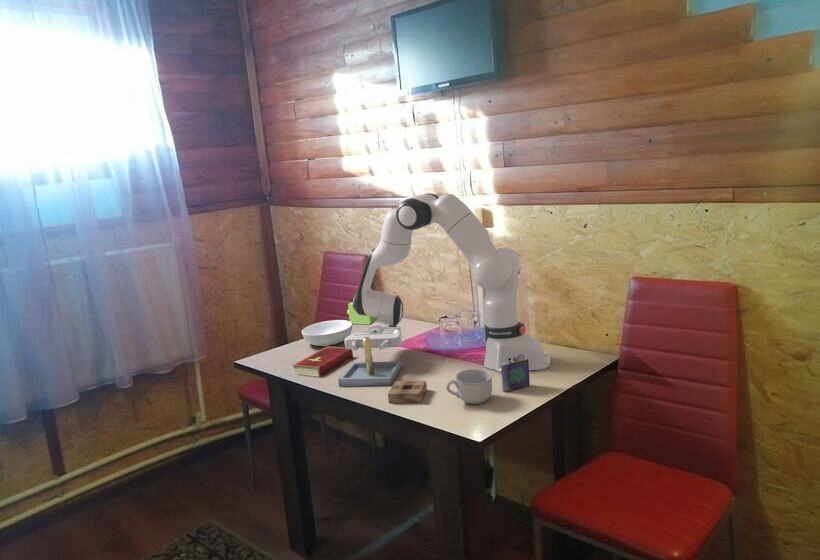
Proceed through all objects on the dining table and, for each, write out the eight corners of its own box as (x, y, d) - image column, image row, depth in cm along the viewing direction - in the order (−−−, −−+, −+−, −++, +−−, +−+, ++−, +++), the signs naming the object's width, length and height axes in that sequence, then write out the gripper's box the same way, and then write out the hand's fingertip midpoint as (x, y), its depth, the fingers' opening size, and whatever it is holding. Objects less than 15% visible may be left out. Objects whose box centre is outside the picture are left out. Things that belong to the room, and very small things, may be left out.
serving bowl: (333, 332, 272) (331, 317, 270) (364, 339, 257) (362, 323, 256) (294, 346, 258) (291, 330, 256) (324, 354, 243) (321, 337, 242)
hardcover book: (353, 358, 236) (352, 347, 235) (319, 378, 218) (318, 367, 217) (328, 355, 242) (326, 345, 241) (293, 375, 224) (292, 364, 223)
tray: (401, 367, 218) (401, 361, 217) (390, 385, 203) (389, 378, 202) (353, 369, 222) (352, 362, 222) (339, 386, 207) (338, 379, 206)
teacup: (490, 391, 189) (488, 366, 188) (496, 405, 179) (494, 379, 177) (445, 396, 189) (442, 372, 187) (449, 411, 178) (446, 385, 177)
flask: (505, 393, 187) (502, 359, 184) (500, 390, 189) (497, 357, 187) (531, 386, 189) (529, 353, 187) (526, 383, 192) (524, 350, 190)
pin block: (427, 389, 196) (426, 380, 195) (420, 402, 186) (419, 393, 186) (396, 390, 198) (395, 381, 198) (388, 402, 189) (387, 393, 188)
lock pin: (375, 372, 213) (370, 337, 210) (373, 375, 211) (368, 339, 208) (368, 372, 214) (363, 337, 210) (366, 375, 211) (361, 339, 208)
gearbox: (389, 319, 284) (387, 299, 282) (378, 325, 275) (377, 304, 274) (355, 318, 292) (353, 298, 290) (344, 323, 283) (342, 303, 282)
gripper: (349, 327, 225) (337, 339, 212) (404, 325, 220) (395, 337, 207) (352, 344, 227) (339, 357, 213) (406, 342, 222) (397, 355, 209)
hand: (367, 347), depth 210 cm, fingers open, 8 cm apart
